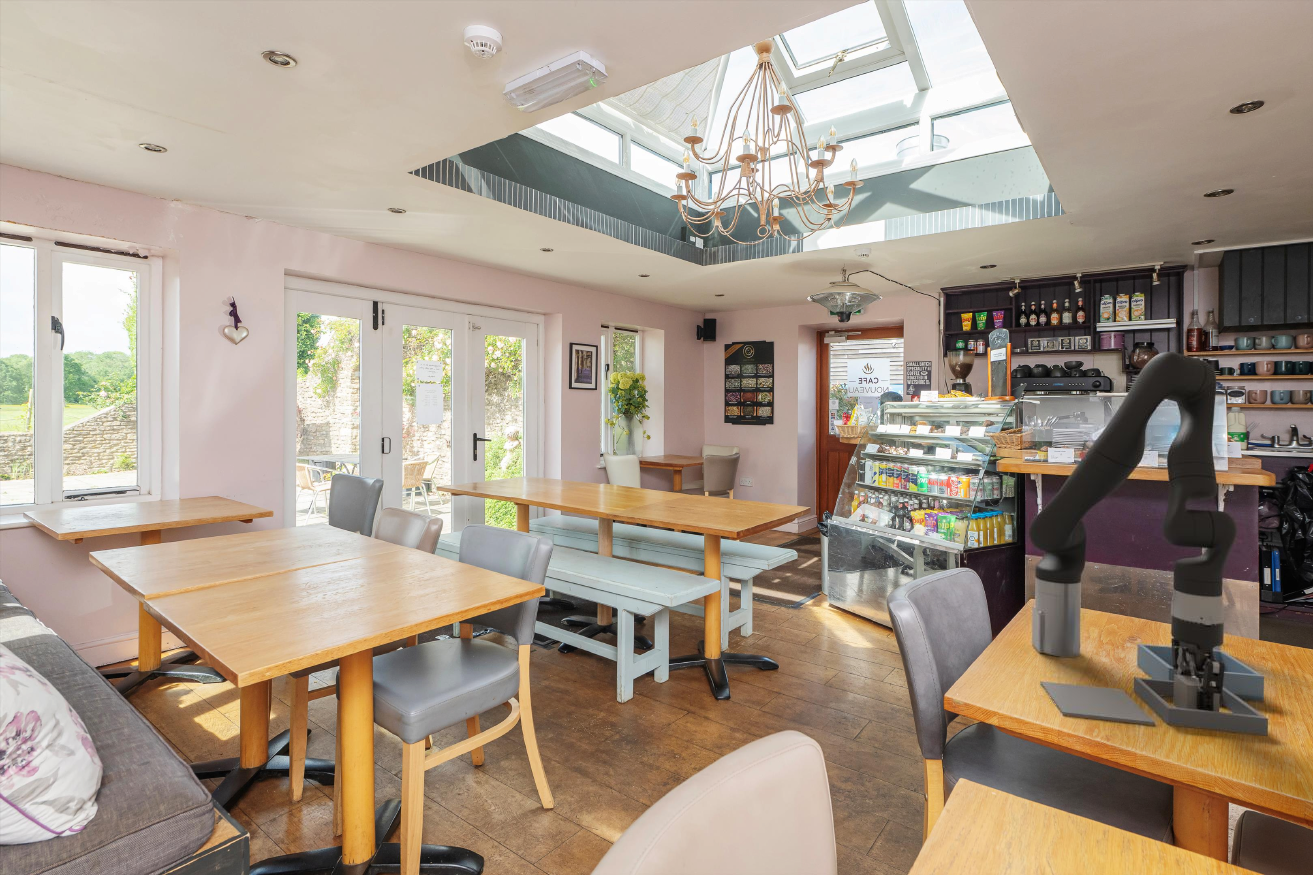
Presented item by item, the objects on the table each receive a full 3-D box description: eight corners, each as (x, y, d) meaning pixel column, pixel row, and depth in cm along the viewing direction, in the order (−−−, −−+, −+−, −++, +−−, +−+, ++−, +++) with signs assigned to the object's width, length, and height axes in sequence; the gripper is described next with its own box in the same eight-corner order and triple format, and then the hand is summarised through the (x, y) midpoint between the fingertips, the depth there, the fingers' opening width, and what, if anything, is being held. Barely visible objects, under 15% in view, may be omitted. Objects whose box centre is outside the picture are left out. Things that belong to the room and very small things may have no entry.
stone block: (1186, 716, 118) (1186, 684, 118) (1173, 704, 123) (1173, 674, 123) (1219, 720, 117) (1219, 687, 117) (1204, 708, 122) (1205, 677, 121)
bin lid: (1062, 715, 119) (1062, 711, 119) (1040, 683, 133) (1040, 681, 133) (1154, 725, 115) (1155, 722, 115) (1121, 692, 129) (1121, 689, 129)
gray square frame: (1168, 724, 115) (1168, 708, 115) (1133, 691, 129) (1133, 676, 129) (1267, 735, 111) (1268, 718, 111) (1221, 700, 125) (1221, 685, 125)
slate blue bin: (1168, 692, 128) (1168, 667, 128) (1137, 665, 142) (1137, 643, 142) (1263, 701, 124) (1264, 676, 124) (1221, 673, 138) (1222, 650, 138)
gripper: (1155, 603, 127) (1154, 686, 128) (1192, 625, 114) (1191, 718, 114) (1200, 606, 125) (1199, 690, 126) (1244, 629, 111) (1242, 724, 112)
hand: (1195, 703), depth 120 cm, fingers open, 6 cm apart
